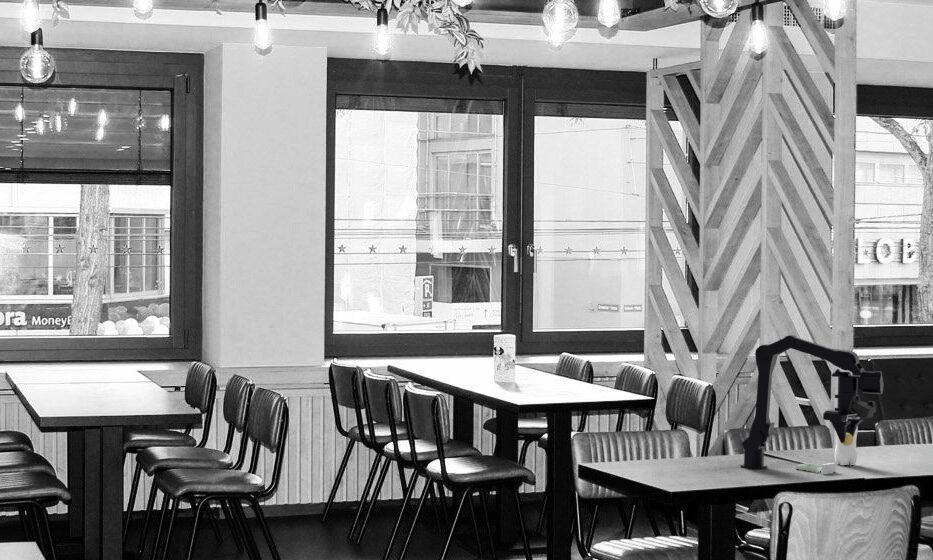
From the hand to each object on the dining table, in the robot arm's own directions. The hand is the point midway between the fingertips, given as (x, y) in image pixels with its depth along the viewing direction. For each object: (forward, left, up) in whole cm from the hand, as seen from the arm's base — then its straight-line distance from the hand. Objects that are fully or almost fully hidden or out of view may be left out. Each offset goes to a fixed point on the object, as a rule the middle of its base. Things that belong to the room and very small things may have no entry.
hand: (846, 442), depth 363 cm
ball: (0, 0, +1) cm, 1 cm away
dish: (+3, +13, -11) cm, 17 cm away
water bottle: (+22, +12, -11) cm, 27 cm away
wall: (+1, +7, -11) cm, 13 cm away
